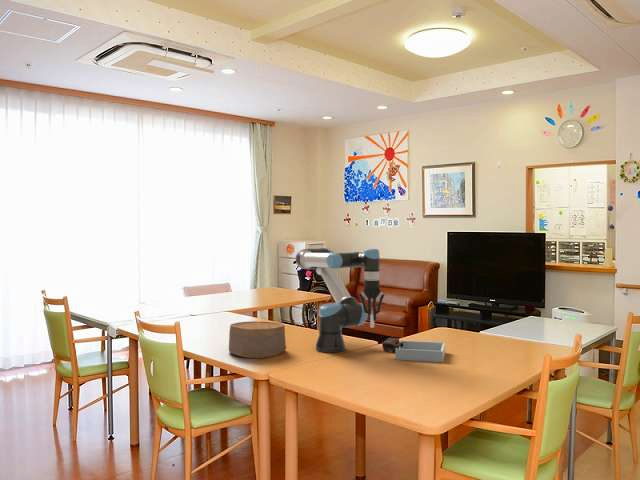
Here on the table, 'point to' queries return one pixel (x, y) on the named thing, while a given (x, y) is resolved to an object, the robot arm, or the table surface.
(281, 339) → the container
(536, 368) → the table surface
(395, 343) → the electronic device
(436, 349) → the walled box
